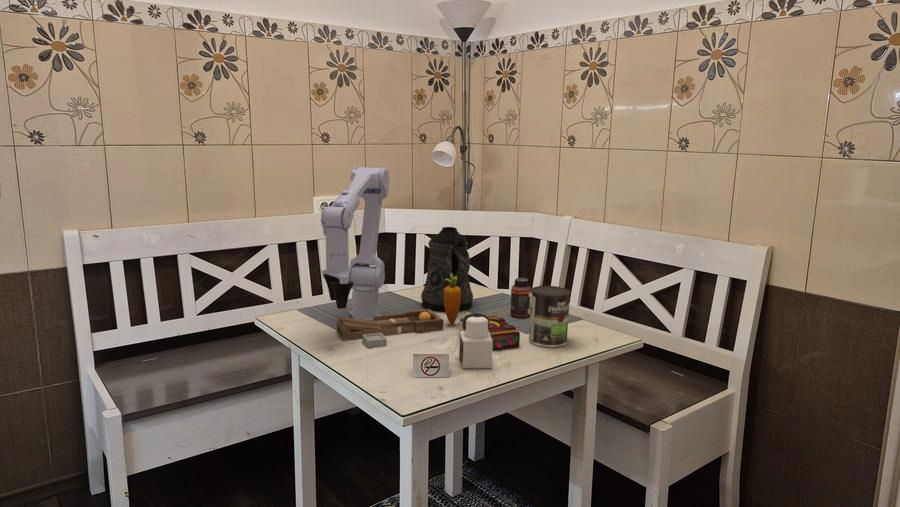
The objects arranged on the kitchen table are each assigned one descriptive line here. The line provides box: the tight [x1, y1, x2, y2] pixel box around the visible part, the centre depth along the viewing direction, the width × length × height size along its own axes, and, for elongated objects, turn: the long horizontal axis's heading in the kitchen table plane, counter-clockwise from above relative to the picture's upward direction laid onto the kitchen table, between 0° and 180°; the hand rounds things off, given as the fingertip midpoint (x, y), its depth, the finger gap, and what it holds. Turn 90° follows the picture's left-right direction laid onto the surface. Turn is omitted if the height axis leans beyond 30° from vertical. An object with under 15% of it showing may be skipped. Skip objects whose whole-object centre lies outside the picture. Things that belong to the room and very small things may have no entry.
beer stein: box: [420, 226, 474, 314], centre depth 190 cm, size 16×19×25 cm
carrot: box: [444, 273, 461, 326], centre depth 173 cm, size 5×5×15 cm
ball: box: [419, 312, 431, 321], centre depth 174 cm, size 4×4×4 cm
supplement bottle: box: [510, 277, 532, 319], centre depth 183 cm, size 6×6×11 cm
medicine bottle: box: [458, 312, 493, 370], centre depth 146 cm, size 7×7×12 cm
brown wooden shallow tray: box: [336, 309, 444, 341], centre depth 169 cm, size 10×28×4 cm, turn 113°
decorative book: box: [459, 315, 521, 351], centre depth 162 cm, size 11×16×5 cm
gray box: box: [362, 333, 388, 349], centre depth 158 cm, size 5×5×2 cm
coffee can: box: [528, 285, 571, 348], centre depth 162 cm, size 10×10×14 cm
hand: (338, 303), depth 159 cm, fingers open, 7 cm apart
